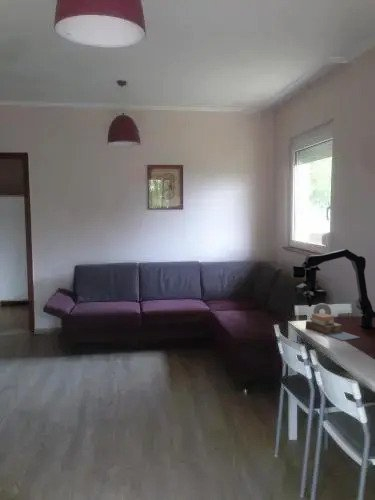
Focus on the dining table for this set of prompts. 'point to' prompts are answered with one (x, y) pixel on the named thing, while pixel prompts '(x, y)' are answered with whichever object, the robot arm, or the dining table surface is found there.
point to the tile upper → (322, 317)
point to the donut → (322, 306)
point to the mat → (342, 336)
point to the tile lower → (322, 322)
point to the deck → (324, 327)
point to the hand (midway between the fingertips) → (309, 306)
